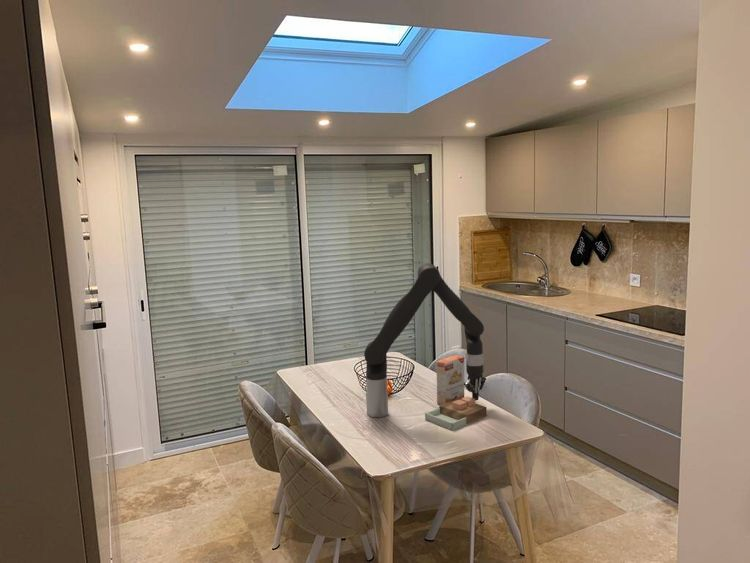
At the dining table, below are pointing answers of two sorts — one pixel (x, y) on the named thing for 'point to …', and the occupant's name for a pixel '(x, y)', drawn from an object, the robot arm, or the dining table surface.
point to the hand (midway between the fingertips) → (475, 400)
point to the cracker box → (450, 379)
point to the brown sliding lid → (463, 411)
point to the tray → (444, 420)
